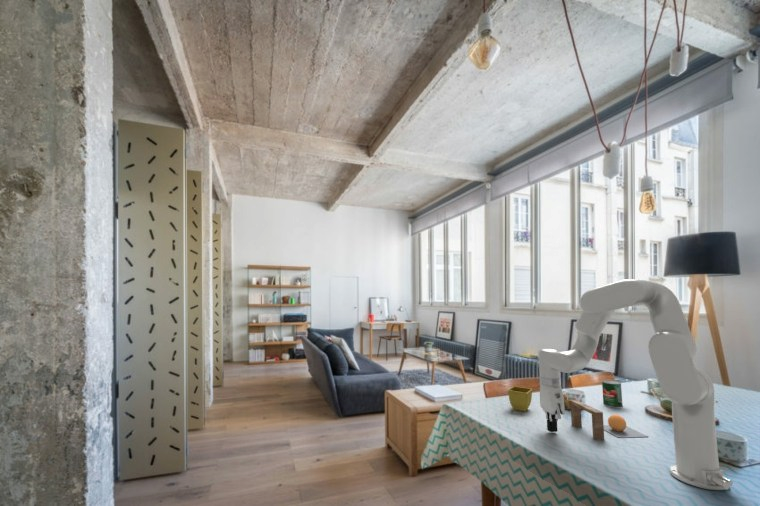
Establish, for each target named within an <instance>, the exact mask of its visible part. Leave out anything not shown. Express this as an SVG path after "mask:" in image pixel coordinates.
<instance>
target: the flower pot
mask: <svg viewBox="0 0 760 506" xmlns="http://www.w3.org/2000/svg"><path fill="white" fill-rule="evenodd" d="M507 395H508V399H509V400H508V401H509V403H510V406H511V407H512V409H513V410H515V411H519V412H526V411H527V410H529V408H530V405H531V402H532V396H533V388H527V387H523V386H522V387H521V386H514V385H513V386H512V387H510V388H509V389H507Z"/></svg>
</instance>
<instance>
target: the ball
mask: <svg viewBox="0 0 760 506" xmlns="http://www.w3.org/2000/svg"><path fill="white" fill-rule="evenodd" d="M607 425H609V426H610V427H611V428H612V429H613V430H615V431H623V430H624V429H625V428H626V426H627V422H626V420H625V418H624V417H622V416H621V415H619V414H611V415H609V417H608V419H607Z"/></svg>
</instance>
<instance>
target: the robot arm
mask: <svg viewBox="0 0 760 506" xmlns="http://www.w3.org/2000/svg"><path fill="white" fill-rule="evenodd" d="M579 304H580V307H581V309H582V311H581V312H580V315H579V316H578V317H577V320H576V322H575V324H574V327H575V329H576V330H577V334H578V335H577V338H576V341H575V342H574V344H573V346H572V348H571V349H569V350H565V351H558V350H557V349H555V348H554V349H553V348H541V349H539V350H538V370H539V377H538V378H539V405H540V407H541V409H542V410H543V412H544V413H545V418H546V430H547V431H548V432H549V433H557V432H558V421H559V420H561V419H562V415H565V414H566V409H565V406H564V398H563V395H564V393H563V389H562V377H561V376H562V375H561V373H564V374H565V373H566V374H567V373H568V374H569V373H573V372H577V371H580V370H583V369H585V368H586V367H587V366H588V365H589V363H590V361H591V360H592V358H593V357H594V355H595V353H596V351H597V348H598V345H599V341H600V337H601V334H602V333H603V331H604V329H605V328H606V326H607V324H608V322H610V321H609V320H610V319H611V317H612V316H613V314H614V312H615V311H616V310H620V309H624V308H625V309H626V308H629V307H635V306H636V307H637V306H645V307H646V308H647V309H648V312H649V318H650V321H651V324H652V327H653V330H654V334H653V335H652V336H651V337H650V339H649V341H648V344H647V345H648V346H647V347H648V349H647V350H648V353H649V354H648V355H649V358H650V360H651V363H652V367H653V369H654V372H655V376H656V379H657V382H658V385H659V388H660V389H661V391H662V393H663V394H664V395H665V397H666V398H667V399H669V400H670V401H671V414H672V415H671V417H672V427H673V429H672V430H673V439H674V440H673V441H674V443H673V444H674V453H675V455H674V456H675V464H674V465H671V466H670V467H669V472H670V474H671V475H672V476H673V478H675V479H677V480H679V481H681V482H683V483H685V484H688V485H691V486H694V487H697V488H700V489H704V490H711V491H724V490H725V491H726V490H729V489H730V487H731V486H733V484H734V483H733V481H732V480H731V479H728V478H727V477H725V476H724V470H723V469H720V464H719V463H720V462H719V452H718V451H719V450H718V441H717V430H716V427H717V425H716V417H715V415H716V413H715V387H714V383H713V380H712V378H711V377H710V376H709V375H708V373H706V372H705V371H704V370H703V369H701V368H699V367H697V366H695V364H694V361H693V358H694V357H695V356H696V354H697V345H696V342H695V340H694V337H693V335H692V332H691V329H690V327H689V324H688V322H687V318H686V317H685V314H684V311H683V310H682V306H681V304H680V301H679V299H678V297H677V296H676V295H675V293H674V292H673V291H672V290H671V289H670V288H668V287H666V286H665V285H663V284H661V283H658V282H655V281H651V280H646V279H636V278H635V279H634V278H633V279H632V278H628V279H622V280H619V281H615V282H612V283H608V284H606V285H605V284H604V285H602V286H599V287H595V288H592V289H589V290H587V291H585V292H583V294H582V295H581V297H580V300H579Z"/></svg>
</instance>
